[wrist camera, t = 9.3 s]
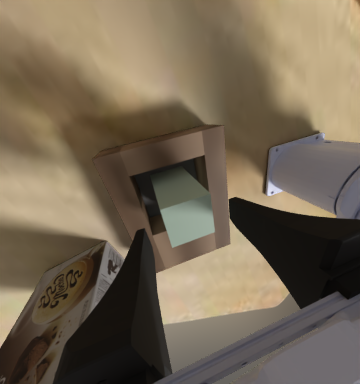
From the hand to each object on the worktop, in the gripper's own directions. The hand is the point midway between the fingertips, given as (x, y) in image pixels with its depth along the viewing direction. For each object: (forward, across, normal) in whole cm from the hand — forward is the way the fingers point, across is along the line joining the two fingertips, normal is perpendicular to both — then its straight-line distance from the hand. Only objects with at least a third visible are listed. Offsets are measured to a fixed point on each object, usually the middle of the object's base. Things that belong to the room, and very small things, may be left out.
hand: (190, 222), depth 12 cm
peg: (+8, 0, 0) cm, 8 cm away
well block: (+8, 0, +2) cm, 9 cm away
